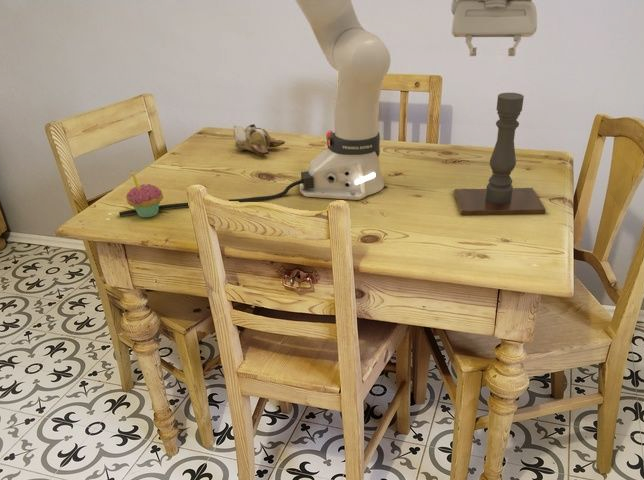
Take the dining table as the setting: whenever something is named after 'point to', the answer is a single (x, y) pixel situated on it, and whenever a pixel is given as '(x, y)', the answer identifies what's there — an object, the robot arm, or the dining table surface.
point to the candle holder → (504, 148)
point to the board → (478, 205)
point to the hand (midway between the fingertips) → (492, 55)
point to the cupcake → (144, 198)
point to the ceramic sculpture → (254, 139)
